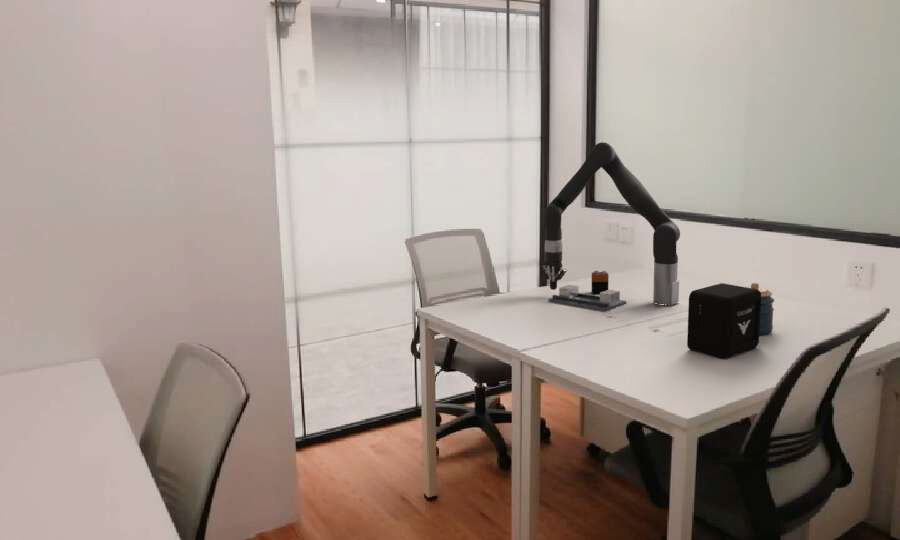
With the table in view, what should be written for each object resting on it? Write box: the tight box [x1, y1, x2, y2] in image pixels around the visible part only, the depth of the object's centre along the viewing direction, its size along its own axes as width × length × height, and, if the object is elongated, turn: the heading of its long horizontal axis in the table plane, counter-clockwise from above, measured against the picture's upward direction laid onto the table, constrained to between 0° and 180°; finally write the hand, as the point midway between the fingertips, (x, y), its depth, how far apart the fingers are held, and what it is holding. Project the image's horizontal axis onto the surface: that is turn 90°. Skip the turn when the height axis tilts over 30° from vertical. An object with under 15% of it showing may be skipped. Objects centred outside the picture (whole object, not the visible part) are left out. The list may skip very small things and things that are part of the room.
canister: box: [746, 282, 775, 337], centre depth 255 cm, size 13×13×18 cm
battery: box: [591, 270, 609, 295], centre depth 319 cm, size 4×7×10 cm, turn 88°
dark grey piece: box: [547, 289, 627, 313], centre depth 303 cm, size 28×16×6 cm, turn 46°
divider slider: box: [558, 284, 580, 298], centre depth 308 cm, size 5×10×4 cm, turn 136°
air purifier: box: [686, 282, 761, 359], centre depth 235 cm, size 20×15×20 cm
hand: (553, 289), depth 314 cm, fingers closed
